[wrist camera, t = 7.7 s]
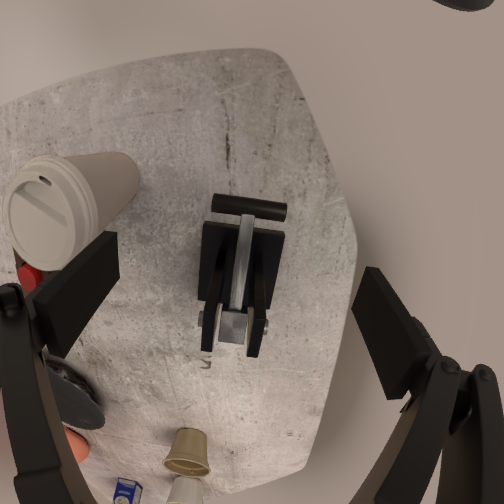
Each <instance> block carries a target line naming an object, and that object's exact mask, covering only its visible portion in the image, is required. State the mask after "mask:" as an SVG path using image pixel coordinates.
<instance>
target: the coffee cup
mask: <svg viewBox="0 0 504 504" xmlns="http://www.w3.org/2000/svg"><path fill="white" fill-rule="evenodd" d="M139 183H140V176H139V171H138V168H137V166H136V164H135V163H134V161H133V160H132V159H131V158H130V157H129V156H127V155H126V154H124V153H121V152H104V153H96V154H87V155H80V156H72V157H65V158H61V157H59V156H55V155H41V156H38V157H35V158H33V159H31V160H30V161H29V162H27V163H26V164H25V165H24V166H23V167H22V168H21V169H20V170H19V171H18V173H17V174H16V175H15V177H14V179H13V180H12V181H11V183H10V184H9V186H8V188H7V190H6V193H5V196H4V202H3V219H4V225H5V229H6V232H7V235H8V237H9V240H10V242H11V244H12V246H13V247H14V249H15V250H16V252H17V253H18V254H19V255H20V256H21V258H22V259H23V260H25V261H26V262H27V263H28V264H30V265H31V266H33V267H35V268H37V269H40V270H43V271H54V270H62V269H63V268H64V267H65V266H66V265H67V264H68V263H69V262H70V261H71V260H72V259H73V258H74V257H75V256H76V255H78V254H79V253H80V252H81V251H82V250H83V249H84V248H85V247H86V246H87V245H89V244H90V243H91V242H92V241H93V240H94V239H95V238H97V237H98V236H99V235H100V234H101V232H102V231H103V230H104V229H105V228H106V227H107V226H108V224H109V223H110V222H111V221H112V220H113V219H114V218H115V217H116V216H117V215H118V214H119V213H120V211H121V210H122V209H123V208H124V207H125V206H126V205H127V204H128V203H129V202H130V201H131V200H132V199H133V198H134V196H135V195H136V193H137V191H138V188H139Z"/></svg>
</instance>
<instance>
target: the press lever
mask: <svg viewBox="0 0 504 504" xmlns="http://www.w3.org/2000/svg"><path fill="white" fill-rule="evenodd" d="M211 211H212V212H216V213H223V214H231V215H238V216H241V221H240V228H239V235H238V242H237V249H236V257H235V264H234V272H233V279H232V287H231V294H230V302H229V303H223V306H222V312H221V320H220V328H219V337H218V341H219V342H227V343H234V344H244V339H245V332H246V326H247V319H248V306H245V305H242V304H243V297H244V290H245V283H246V276H247V269H248V262H249V255H250V248H251V241H252V234H253V227H254V220H255V218H259V219H266V220H273V221H280V222H284V221H285V218H286V214H287V204H286V203H281V202H274V201H268V200H261V199H254V198H247V197H240V196H232V195H225V194H217V193H214V195H213V199H212V206H211Z"/></svg>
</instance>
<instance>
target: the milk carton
mask: <svg viewBox="0 0 504 504" xmlns="http://www.w3.org/2000/svg"><path fill="white" fill-rule="evenodd" d="M142 489H143V488H142V487H141V486H140V485H139V484H138V482H136V481H131V480H127V479H123V478H119V479H118V483H117V486H116V490H115V494H114V498H113V501H112V504H139V503H140V498H141V493H142Z"/></svg>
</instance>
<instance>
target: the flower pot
mask: <svg viewBox="0 0 504 504" xmlns="http://www.w3.org/2000/svg"><path fill="white" fill-rule="evenodd" d="M162 464H163V466H164V467H165V468H166V469H167V470H169V471H171V472H173V473H175V474H179V475H182V476H187V477H205V476H208V475H209V474H210V473H211V470H210V468H209V464H208V461H207V437H206V436H205V435H204V433H202V432H201V431H198V430H195V429H191V428H188V429H180V430H178V432H177V434H176V437H175V440H174V442H173V445H172V447H171V450H170V452H169V455H167V457H166V459H165V460H163V462H162Z"/></svg>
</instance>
